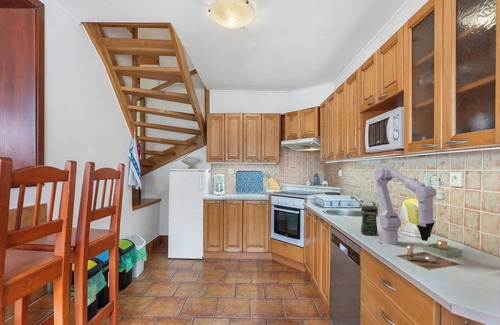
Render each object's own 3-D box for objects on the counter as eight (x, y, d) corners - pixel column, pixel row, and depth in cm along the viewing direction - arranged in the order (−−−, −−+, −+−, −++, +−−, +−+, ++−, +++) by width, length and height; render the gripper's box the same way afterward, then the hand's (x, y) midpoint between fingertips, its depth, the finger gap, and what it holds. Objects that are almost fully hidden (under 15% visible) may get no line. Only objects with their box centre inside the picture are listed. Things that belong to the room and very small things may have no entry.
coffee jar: (362, 235, 152) (362, 206, 152) (360, 231, 159) (359, 204, 160) (379, 236, 149) (379, 207, 150) (375, 232, 157) (375, 205, 157)
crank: (433, 259, 109) (433, 246, 109) (438, 263, 105) (438, 249, 105) (405, 257, 112) (405, 244, 112) (409, 261, 108) (409, 247, 108)
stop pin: (435, 252, 121) (435, 240, 121) (441, 251, 121) (441, 240, 122) (443, 255, 117) (443, 243, 117) (449, 254, 118) (449, 242, 118)
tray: (422, 251, 123) (422, 244, 123) (438, 249, 126) (438, 242, 126) (445, 259, 112) (445, 252, 112) (462, 257, 115) (462, 249, 116)
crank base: (395, 257, 115) (395, 255, 115) (425, 253, 120) (425, 251, 120) (428, 272, 99) (428, 269, 99) (461, 266, 105) (461, 263, 105)
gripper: (433, 214, 106) (434, 244, 106) (438, 209, 117) (438, 237, 117) (415, 212, 111) (415, 240, 111) (420, 208, 122) (421, 234, 122)
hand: (425, 238), depth 114 cm, fingers open, 7 cm apart
